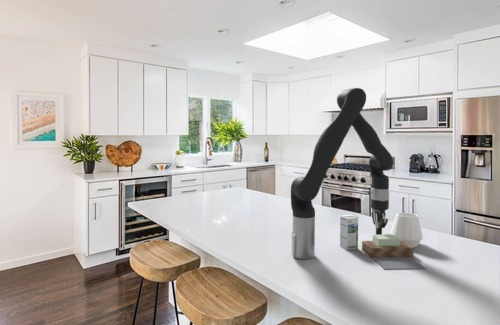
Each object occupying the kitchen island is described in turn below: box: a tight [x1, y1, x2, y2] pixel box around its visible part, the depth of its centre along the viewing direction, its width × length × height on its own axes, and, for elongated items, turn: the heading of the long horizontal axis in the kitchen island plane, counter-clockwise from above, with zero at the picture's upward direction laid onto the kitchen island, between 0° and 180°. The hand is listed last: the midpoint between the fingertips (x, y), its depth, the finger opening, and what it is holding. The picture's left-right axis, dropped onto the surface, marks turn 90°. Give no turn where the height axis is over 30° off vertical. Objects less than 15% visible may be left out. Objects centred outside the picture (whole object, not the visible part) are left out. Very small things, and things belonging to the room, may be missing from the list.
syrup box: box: [339, 214, 359, 251], centre depth 142 cm, size 6×6×14 cm
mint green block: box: [372, 233, 400, 246], centre depth 136 cm, size 9×6×3 cm, turn 90°
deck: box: [361, 240, 415, 259], centre depth 135 cm, size 18×9×4 cm, turn 90°
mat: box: [372, 257, 427, 270], centre depth 125 cm, size 16×11×1 cm
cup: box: [390, 211, 423, 248], centre depth 146 cm, size 13×13×14 cm
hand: (378, 235), depth 143 cm, fingers closed
